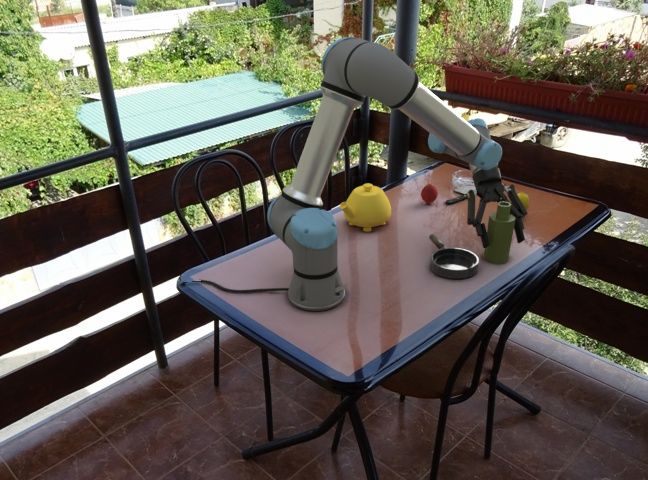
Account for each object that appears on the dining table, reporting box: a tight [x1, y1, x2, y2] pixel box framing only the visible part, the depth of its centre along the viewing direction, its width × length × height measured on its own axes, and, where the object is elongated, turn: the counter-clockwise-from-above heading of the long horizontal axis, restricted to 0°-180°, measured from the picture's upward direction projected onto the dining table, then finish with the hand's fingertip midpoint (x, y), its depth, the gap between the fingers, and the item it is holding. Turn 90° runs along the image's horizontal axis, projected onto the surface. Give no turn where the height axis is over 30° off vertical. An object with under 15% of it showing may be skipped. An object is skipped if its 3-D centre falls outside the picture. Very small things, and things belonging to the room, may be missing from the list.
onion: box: [420, 181, 439, 205], centre depth 196 cm, size 6×6×8 cm
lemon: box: [517, 192, 530, 212], centre depth 184 cm, size 6×6×8 cm
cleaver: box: [445, 182, 505, 205], centre depth 205 cm, size 29×1×10 cm
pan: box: [429, 247, 480, 280], centre depth 158 cm, size 13×13×3 cm
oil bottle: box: [482, 202, 515, 265], centre depth 158 cm, size 7×7×17 cm
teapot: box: [339, 182, 392, 232], centre depth 182 cm, size 20×16×14 cm
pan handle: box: [428, 233, 447, 250], centre depth 167 cm, size 2×10×2 cm, turn 10°
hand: (504, 243), depth 156 cm, fingers open, 10 cm apart
